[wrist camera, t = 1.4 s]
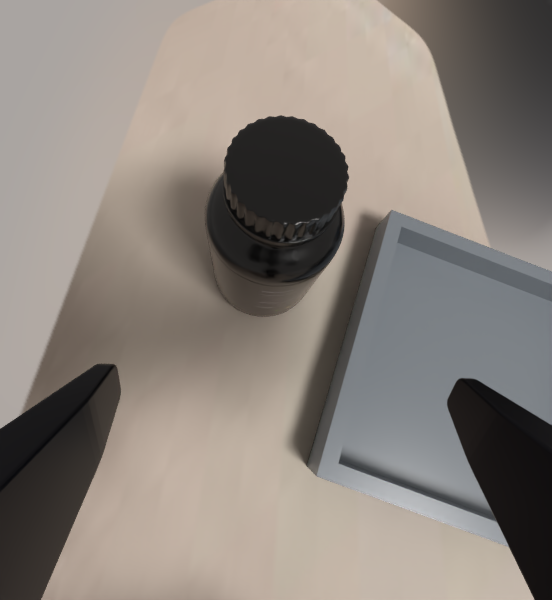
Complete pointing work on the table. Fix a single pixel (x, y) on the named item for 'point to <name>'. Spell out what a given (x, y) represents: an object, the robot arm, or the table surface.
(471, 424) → the robot arm
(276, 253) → the supplement bottle
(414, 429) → the tray
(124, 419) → the table surface
